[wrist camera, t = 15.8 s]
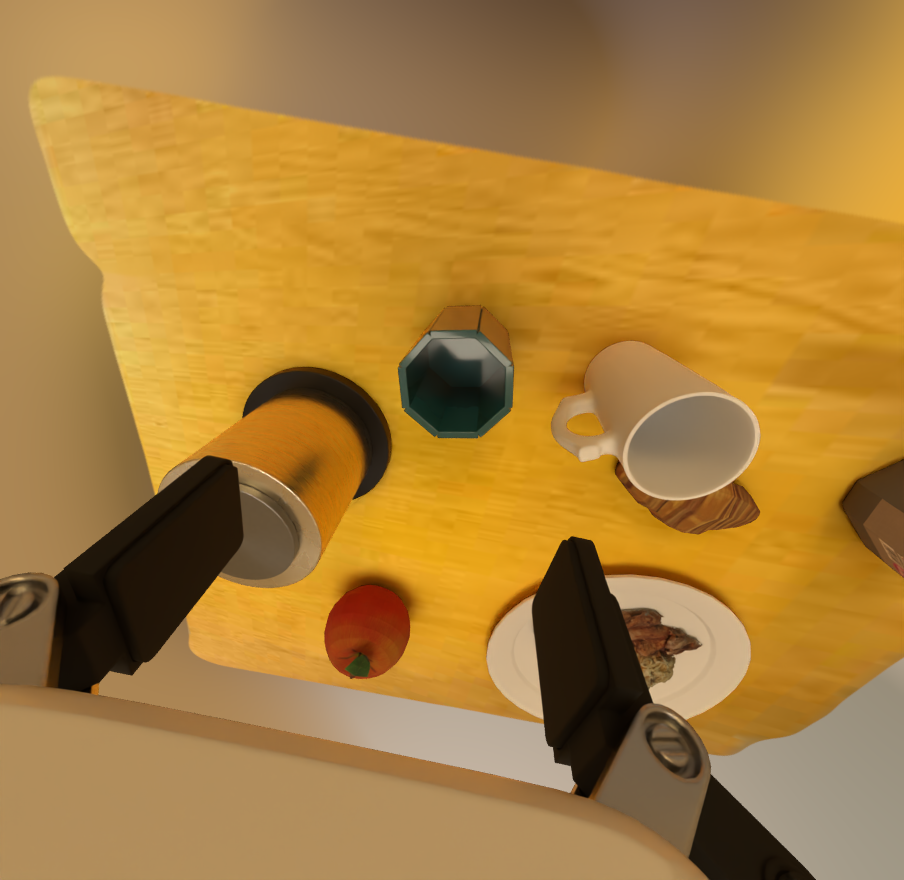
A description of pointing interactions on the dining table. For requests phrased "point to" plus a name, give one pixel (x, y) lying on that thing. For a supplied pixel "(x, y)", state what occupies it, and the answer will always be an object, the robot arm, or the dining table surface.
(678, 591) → the plated food
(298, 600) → the dining table surface
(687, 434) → the mug
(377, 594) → the fruit
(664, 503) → the croissant
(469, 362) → the teal cup
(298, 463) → the towel holder
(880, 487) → the liquor
